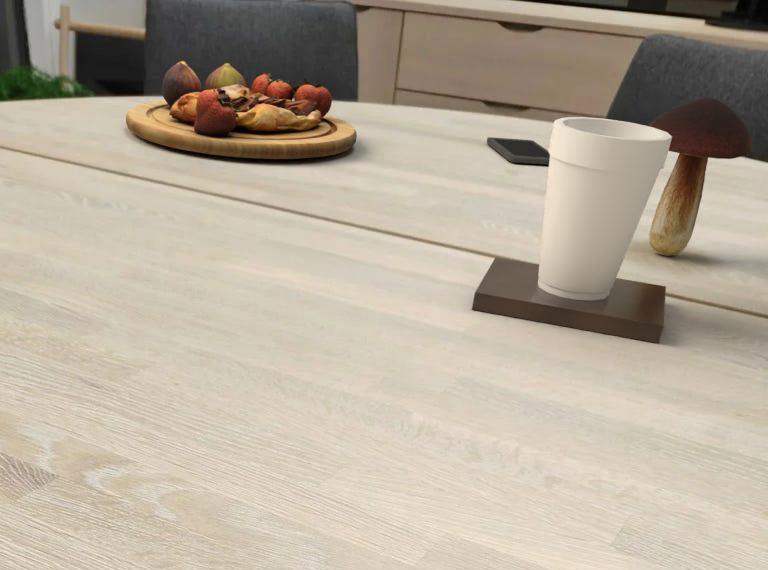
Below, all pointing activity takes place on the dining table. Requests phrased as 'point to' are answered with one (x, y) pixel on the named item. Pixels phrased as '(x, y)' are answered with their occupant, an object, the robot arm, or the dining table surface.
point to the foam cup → (595, 201)
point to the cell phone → (520, 150)
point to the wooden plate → (241, 117)
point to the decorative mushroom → (693, 165)
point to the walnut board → (572, 303)
